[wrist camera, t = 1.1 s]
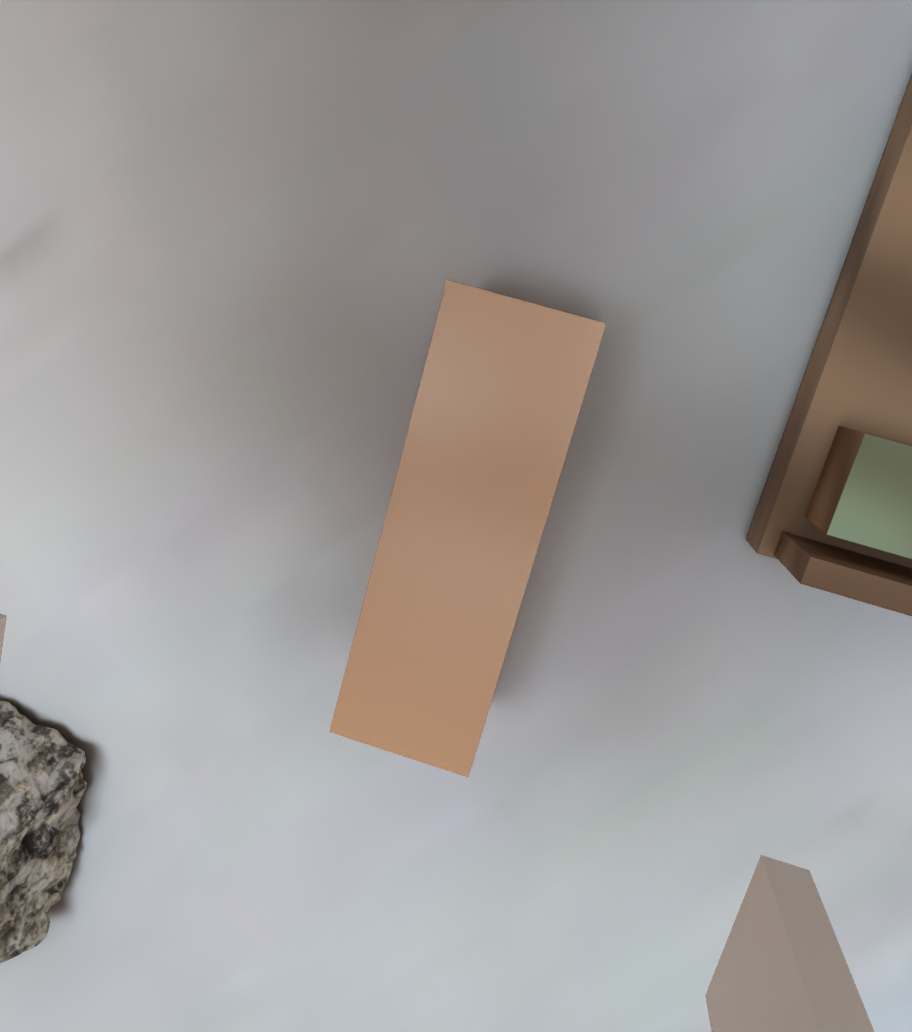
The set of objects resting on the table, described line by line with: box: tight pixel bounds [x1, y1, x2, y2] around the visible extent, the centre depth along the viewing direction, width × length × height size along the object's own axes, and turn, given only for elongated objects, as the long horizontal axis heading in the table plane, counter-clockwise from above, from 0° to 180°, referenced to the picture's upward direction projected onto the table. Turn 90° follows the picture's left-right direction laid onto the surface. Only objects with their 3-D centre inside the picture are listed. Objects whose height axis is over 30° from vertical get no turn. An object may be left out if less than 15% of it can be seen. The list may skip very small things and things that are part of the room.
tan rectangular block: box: [330, 280, 606, 777], centre depth 28 cm, size 14×4×6 cm, turn 165°
